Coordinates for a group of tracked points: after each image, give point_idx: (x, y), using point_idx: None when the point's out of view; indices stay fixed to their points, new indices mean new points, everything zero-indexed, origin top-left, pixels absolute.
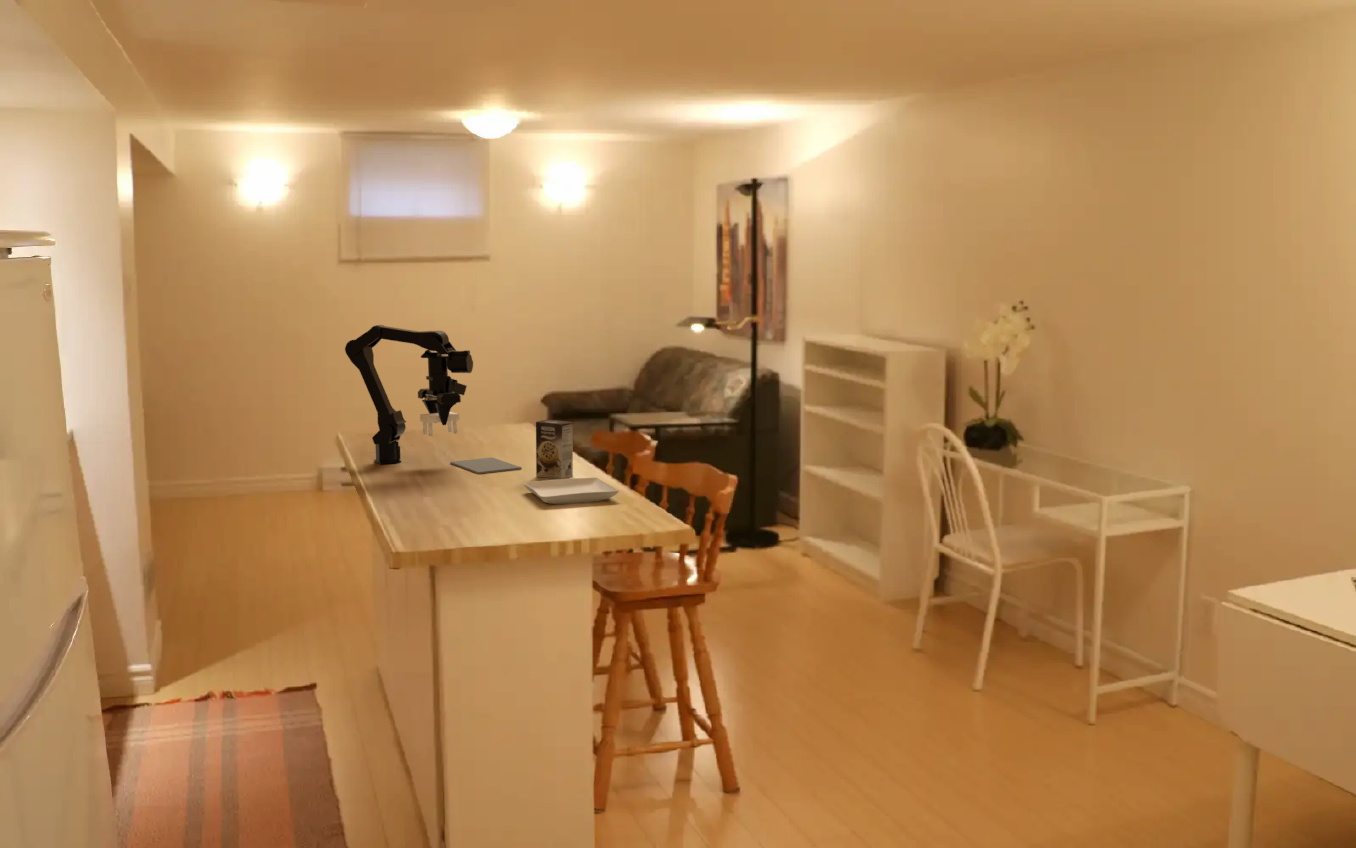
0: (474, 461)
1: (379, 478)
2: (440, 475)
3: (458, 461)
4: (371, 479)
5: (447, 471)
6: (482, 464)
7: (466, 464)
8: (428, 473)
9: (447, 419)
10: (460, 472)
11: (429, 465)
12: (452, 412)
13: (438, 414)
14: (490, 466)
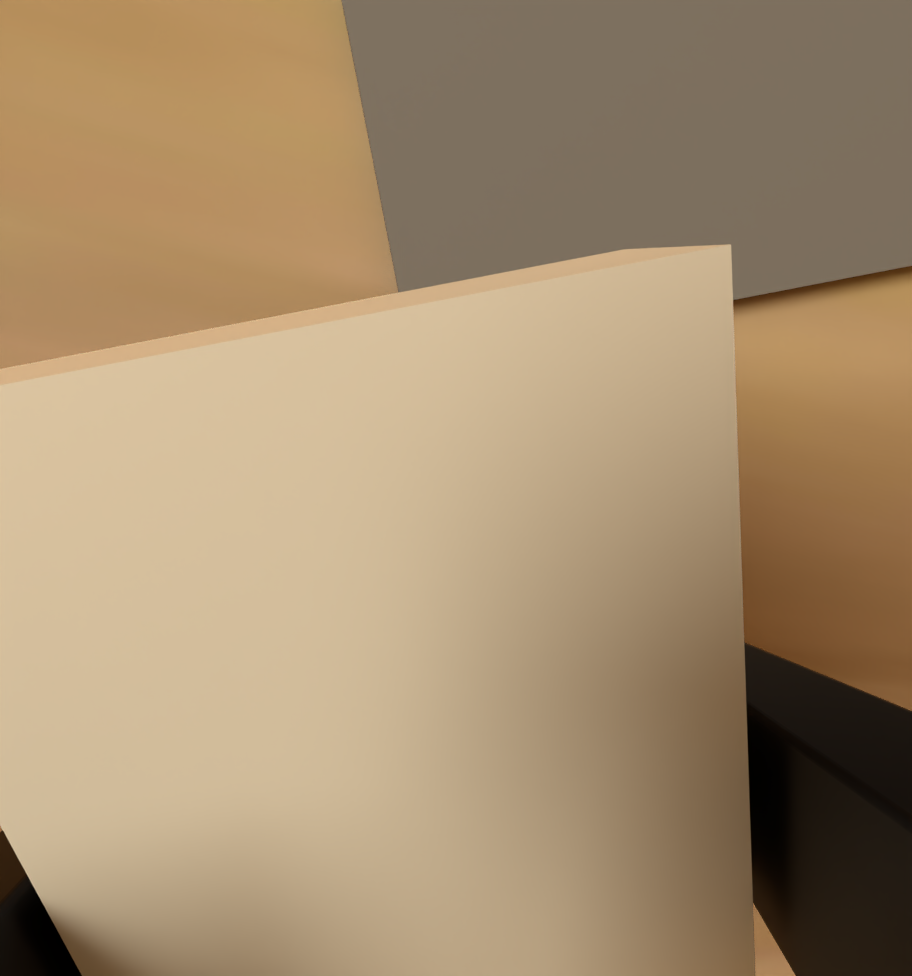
0: (498, 90)
1: (759, 915)
2: (892, 553)
3: (426, 272)
4: (764, 953)
5: (767, 468)
6: (719, 57)
7: (634, 237)
8: (766, 621)
9: (768, 654)
10: (870, 372)
11: None
12: (128, 415)
13: (491, 934)
14: (876, 5)
